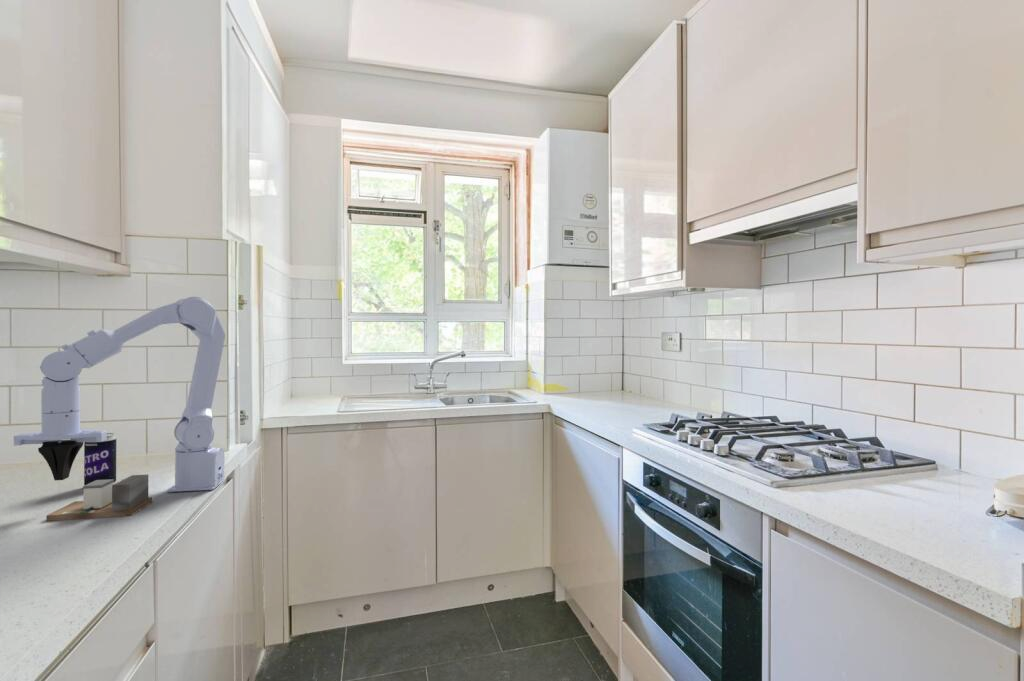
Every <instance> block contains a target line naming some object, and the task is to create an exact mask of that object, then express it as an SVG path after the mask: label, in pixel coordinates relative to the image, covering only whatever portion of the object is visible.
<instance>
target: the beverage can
mask: <svg viewBox="0 0 1024 681" xmlns="http://www.w3.org/2000/svg"><path fill="white" fill-rule="evenodd" d="M83 448H84V451H83V453H84V454H83V457H84V458H83V464H84V465H83V468H84V469H83V486H85V485H87V484H89V483H91V482H93V481H95V480H109V479H114V482H113V484H115V482H117V437H116V436H115V433H114V432H107V440H105V441H102V442H96V441H94V442H83Z"/></svg>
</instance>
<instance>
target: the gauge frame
mask: <svg viewBox="0 0 1024 681" xmlns="http://www.w3.org/2000/svg"><path fill="white" fill-rule="evenodd" d="M152 503H153V497H152V496H151V497H150V496H149V474H134V475H133V474H131V475H130V476H127V477H126V478H123V479H122V480H119V481H118V482H116V483H113V485H112V502H111V503H109V504H108V505H106V506H104V507H102V508H93V509H91V510H89V511H86V509H83V500H79V501H78V500H76V501H73V502H70V503H69V504H67V505H65V506H63V507H61V508H59V509H57V510H55V511H53V512H51V513H49V514H47V515H46V522H47V521H48V522H49V521H50V522H51V521H64V520H65V519H67V520H76V519H75V518H84V519H96V518H95V517H101V518H109V517H108V516H117V517H124V516H123V515H131V516H133V515H134V514H136V513H137V512H136V511H138V510H139V509H141V508H142V509H144V508H145V507H147V506H149V505H150V504H152ZM146 505H147V506H146ZM143 507H144V508H143ZM142 509H141V510H142ZM139 511H140V510H139ZM139 511H138V512H139ZM135 512H136V513H135ZM133 513H134V514H133ZM132 514H133V515H132Z"/></svg>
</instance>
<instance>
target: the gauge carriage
mask: <svg viewBox="0 0 1024 681" xmlns="http://www.w3.org/2000/svg"><path fill="white" fill-rule="evenodd" d="M113 482H114V479H109V480H95V481H93V482H91V483H89V484H87V485H83V486H82V489H83V494H82V495H83V497H82V498H83V500H82V501H83V509H86V511H89V510H91V509H93V508H102V507H104V506H106V505H108V504H109V503H111V502H112V485H114V483H115V482H114V483H113Z"/></svg>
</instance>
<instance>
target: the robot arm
mask: <svg viewBox="0 0 1024 681" xmlns="http://www.w3.org/2000/svg"><path fill="white" fill-rule="evenodd" d="M169 324H170V325H171V324H180V325H181V326H184V327H186V328H188V329H189V330H190V331H191V332H192V333H193V334H194V335H195V336H196V337H197V338H198V340H199V343H198V347H197V351H196V357H195V363H194V365H193V366H194V367H193V371H192V377H191V383H190V388H189V392H188V397H187V402H186V406H185V407H184V409H183V412H182V414H181V419H180V420H179V422H177V424H176V426H175V427H174V432H173V435H174V437H175V439H176V440H177V441H178V444H177V445H176V447H175V449H174V484H173V486H171V487H169V488H168V489H166V492H167V493H172V492H173V493H174V492H193V491H195V492H197V491H211V490H215V489H216V488H217V487H218V486H219V485H222V483H224V482H225V481H226V478H225V451H224V449H223V448H222V447H213V443H212V442H213V440H214V439H215V438H214V437H215V430H214V428H213V411H212V406H213V401H214V396H215V390H216V385H217V380H218V376H219V372H220V371H219V370H220V365H221V361H222V357H223V356H222V355H223V349H224V344H225V340H226V333H225V330H224V328H223V326H222V324H221V321H220V319H219V317H218V314H217V310H216V308H215V307H214V306H213V305H212V304H211V303H210V302H209V301H208V300H206V299H205V298H203V297H200V296H188V297H186V298H182V299H179V300H177V301H175V302H171V303H167V304H165V305H161V306H159V307H156V308H154V309H152V310H150V311H148V312H147V313H145V314H142V315H141V316H139V317H137V318H134V319H133V320H131V321H129V322H127V323H125V324H124V325H122V326H120V327H118V328H116V329H114V330H110V329H103V328H102V329H99V330H97V331H96V330H95V329H92V330H90V331H88V332H87V336H85V337H83V338H81V339H78V340H77V341H75V342H72V343H71V344H68V343H65V344H63V345H61V347H60V348H62V350H58V351H54V352H51V353H49V354H47V355H46V356H45V357H44V358H43V360H42V362H41V364H40V366H39V367H40V368H39V369H40V371H41V373H42V374H43V375H44V376H43V378H42V380H41V385H42V389H41V391H40V392H41V394H40V395H41V396H40V397H41V400H40V403H41V405H40V406H41V410H40V411H41V432H32V433H31V432H30V433H20V434H16V435H13V446H23V445H41V446H40V447H38V448H37V451H38V453H39V454H40V456H42V457H43V458H44V460H45V462H46V463H47V465H48V466H49V469H50V470H51V474H52V477H53V480H54V481H64V480H66V479H68V478H69V477H70V473H71V470H72V467H73V464H74V461H75V460H76V457H77V455H78V453H80V452H79V451H81V448H83V447H84V442H94V441H96V442H102V441H105V440H107V433H108V432H107V430H81V387H80V386H79V375H80V374H81V372H82V371H83V370H82V369H90V368H92V367H94V366H96V365H99V364H101V363H102V362H104V361H106V360H108V359H109V358H112V357H114V356H115V355H116V354H117V355H118V354H119V353H121V352H122V349H123V345H124V343H126V342H128V341H130V340H132V339H134V338H137V337H139V336H141V335H142V334H143V335H144V334H145V333H147V332H149V331H150V330H151V331H152V330H154V329H155V328H157V327H159V326H161V325H169Z"/></svg>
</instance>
